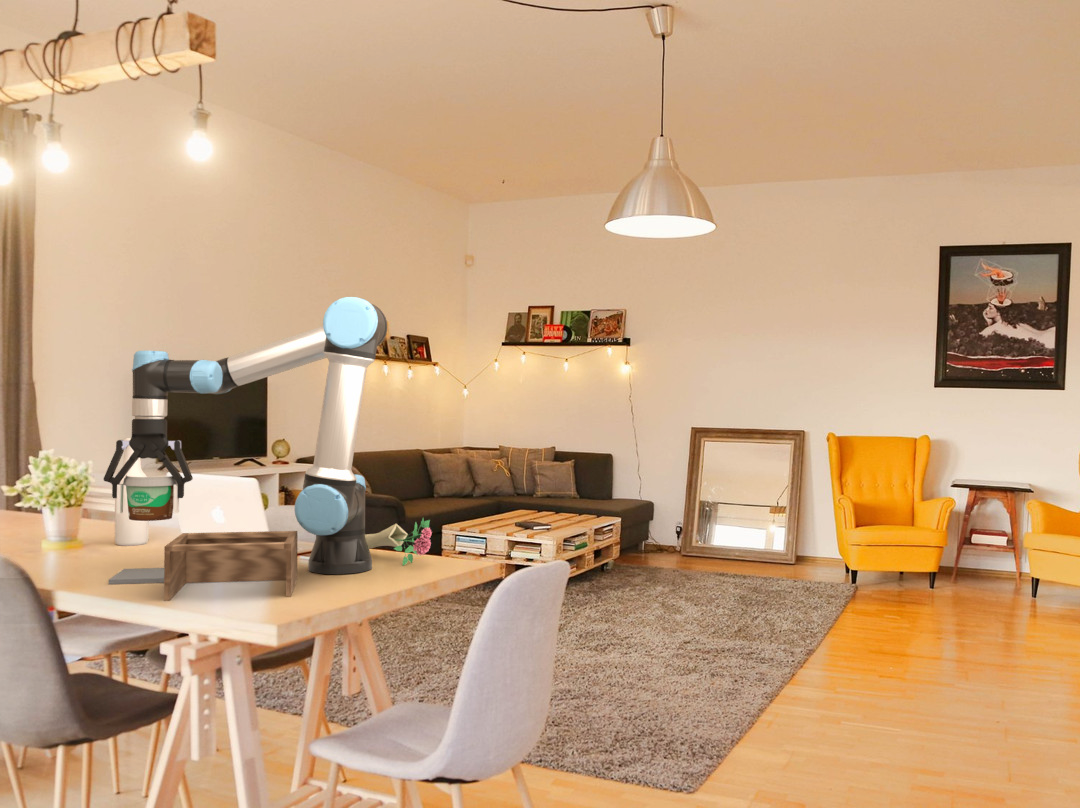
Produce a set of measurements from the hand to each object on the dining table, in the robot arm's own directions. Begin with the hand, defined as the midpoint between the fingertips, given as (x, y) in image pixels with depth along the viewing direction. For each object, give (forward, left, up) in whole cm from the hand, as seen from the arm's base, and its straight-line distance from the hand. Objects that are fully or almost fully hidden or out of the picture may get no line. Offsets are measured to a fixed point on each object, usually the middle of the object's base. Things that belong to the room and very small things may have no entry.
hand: (148, 512), depth 215 cm
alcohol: (+16, -55, -15) cm, 59 cm away
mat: (0, 0, -15) cm, 15 cm away
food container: (0, 0, -2) cm, 2 cm away
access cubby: (-21, +17, -15) cm, 31 cm away
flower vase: (-56, -15, -15) cm, 60 cm away
